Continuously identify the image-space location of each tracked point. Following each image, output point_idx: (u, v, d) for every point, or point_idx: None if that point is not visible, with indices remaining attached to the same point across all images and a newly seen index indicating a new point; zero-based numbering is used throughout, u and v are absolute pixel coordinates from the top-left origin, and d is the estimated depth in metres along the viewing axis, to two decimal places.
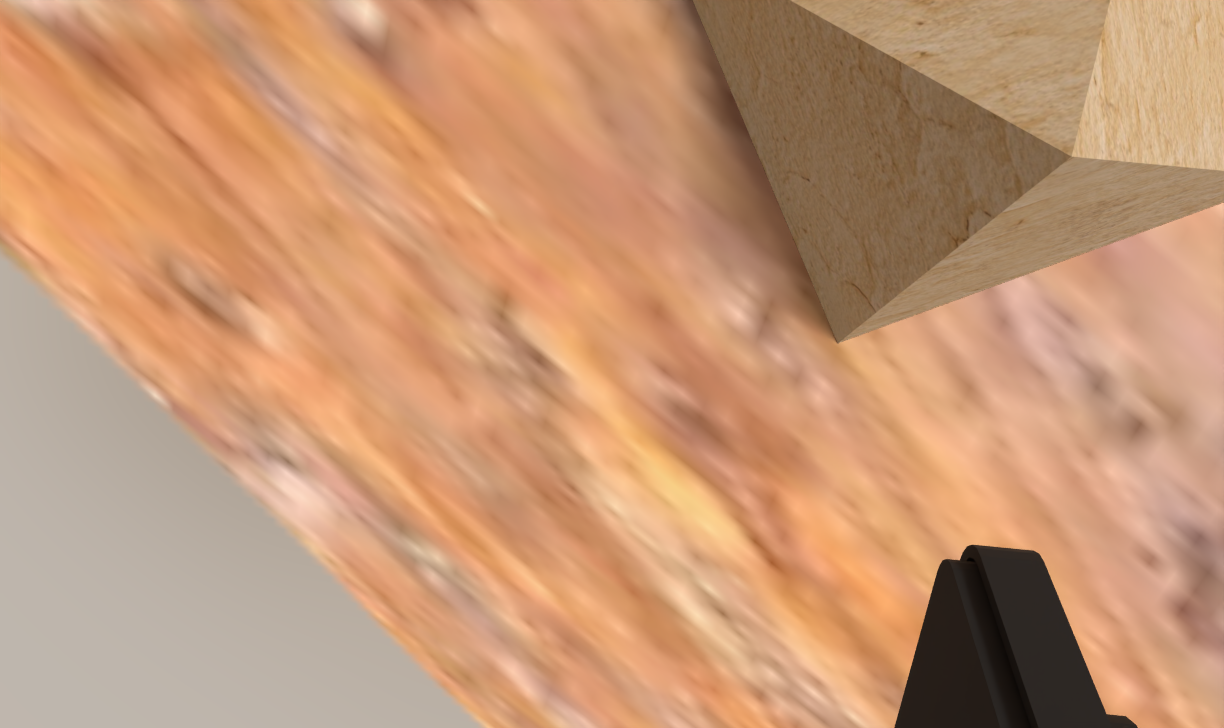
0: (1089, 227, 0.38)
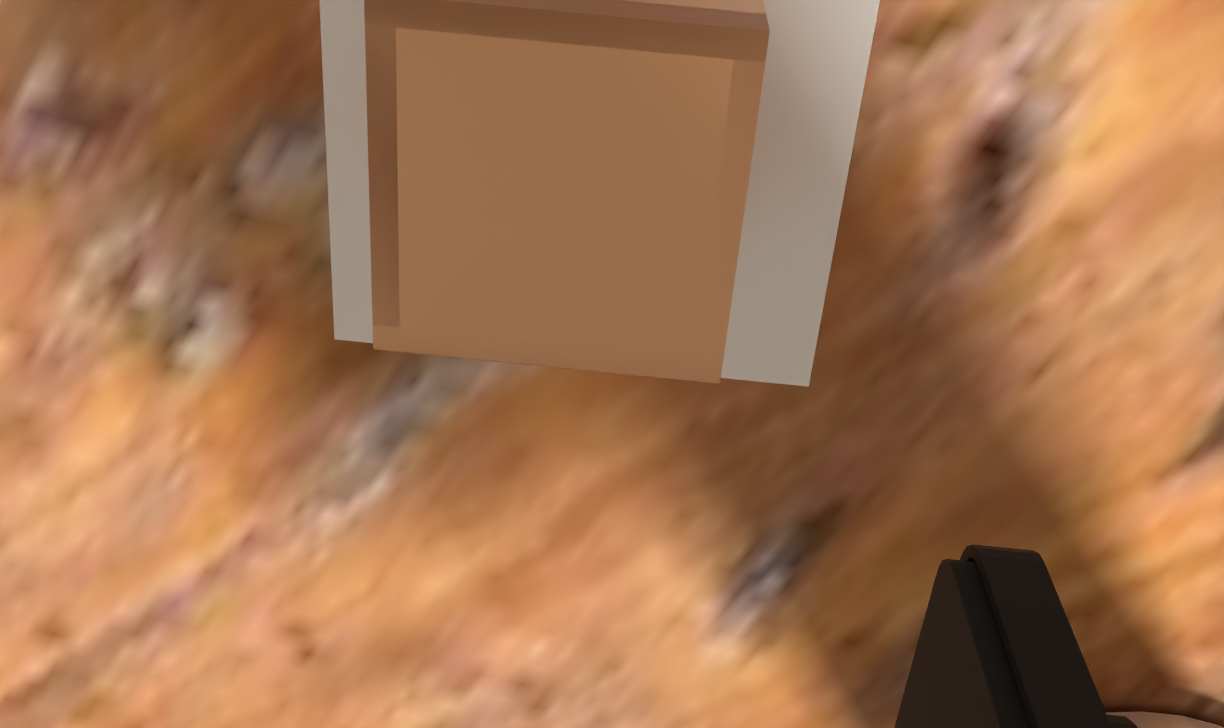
0: None
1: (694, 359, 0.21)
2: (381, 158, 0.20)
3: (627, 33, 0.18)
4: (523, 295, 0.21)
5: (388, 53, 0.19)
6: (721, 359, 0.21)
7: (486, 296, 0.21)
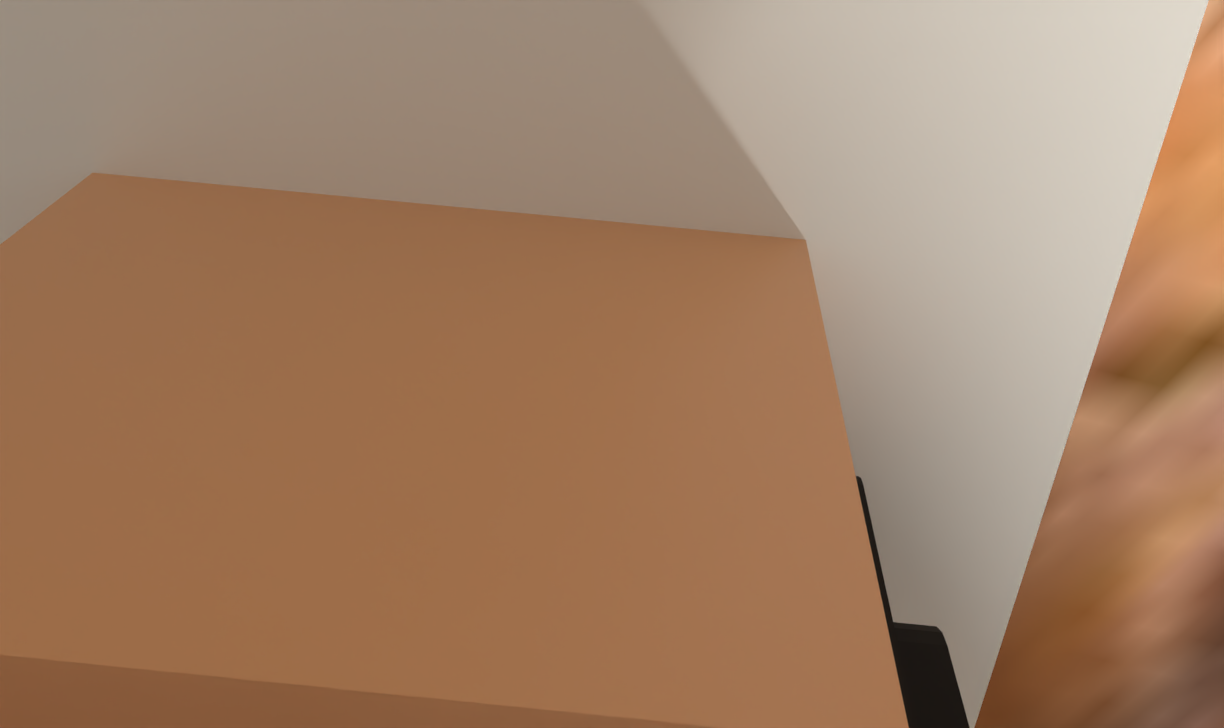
0: None
1: None
2: None
3: None
4: None
5: None
6: None
7: None
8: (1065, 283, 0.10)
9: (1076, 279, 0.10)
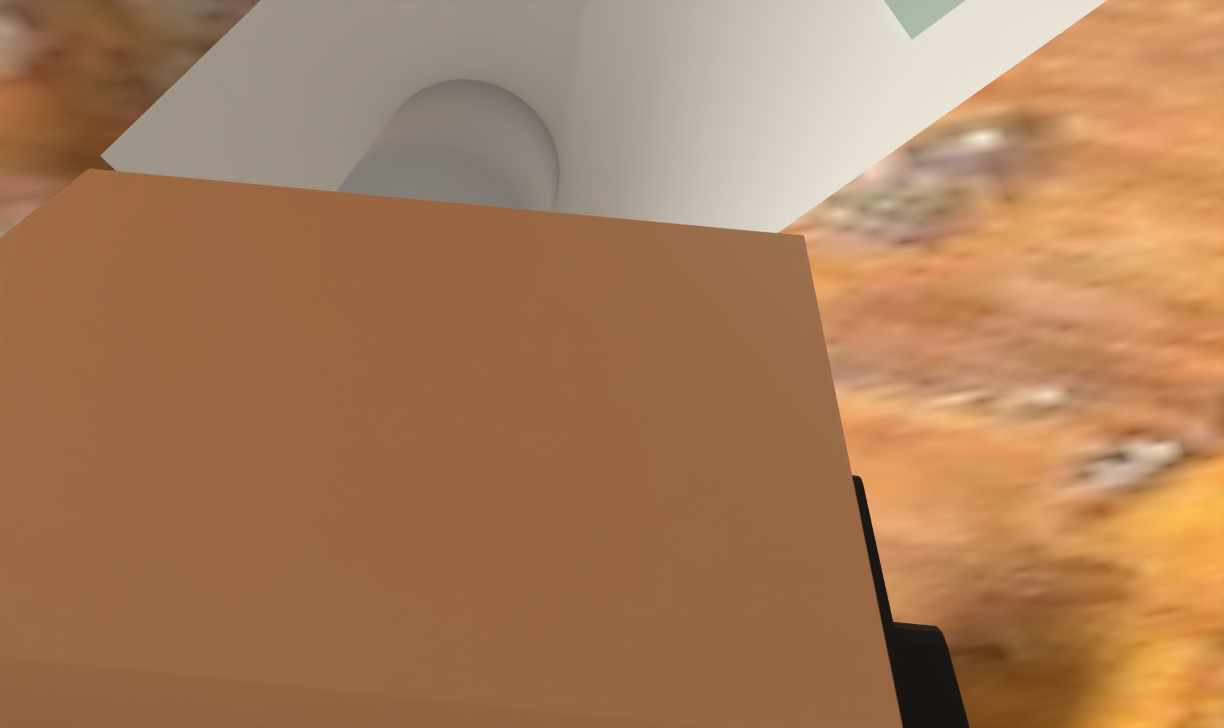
0: None
1: None
2: None
3: None
4: None
5: None
6: None
7: None
8: None
9: None
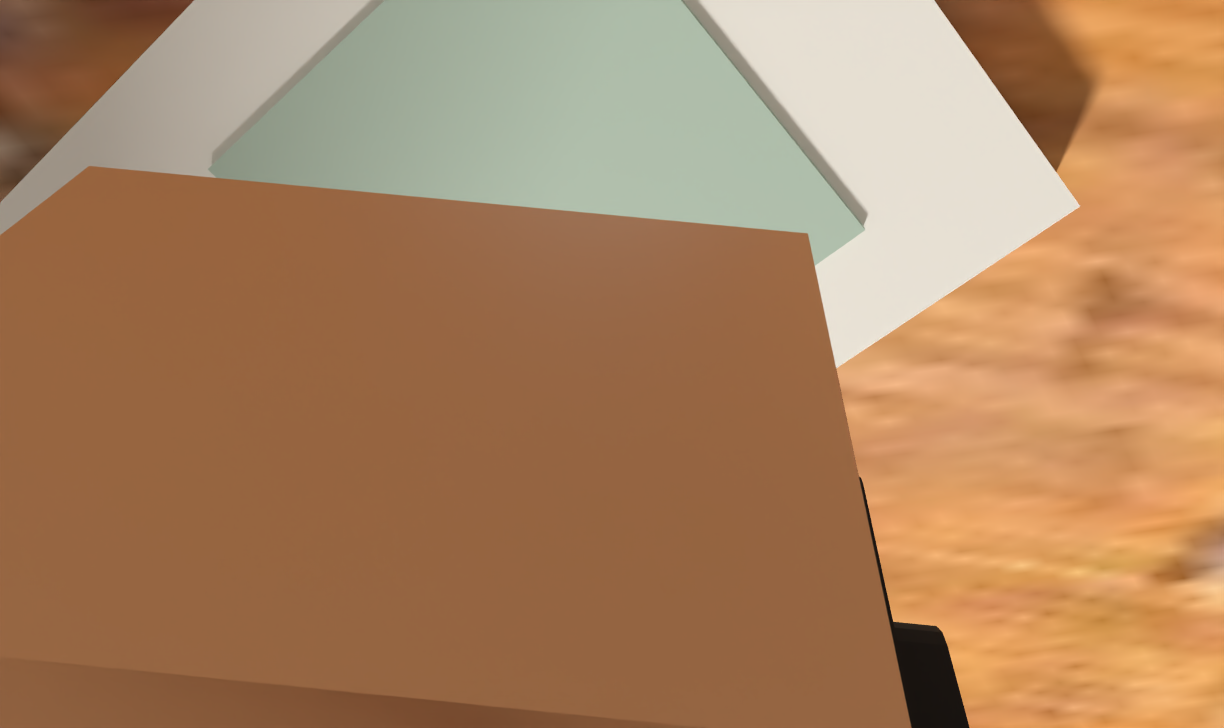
0: None
1: None
2: None
3: None
4: None
5: None
6: None
7: None
8: None
9: None
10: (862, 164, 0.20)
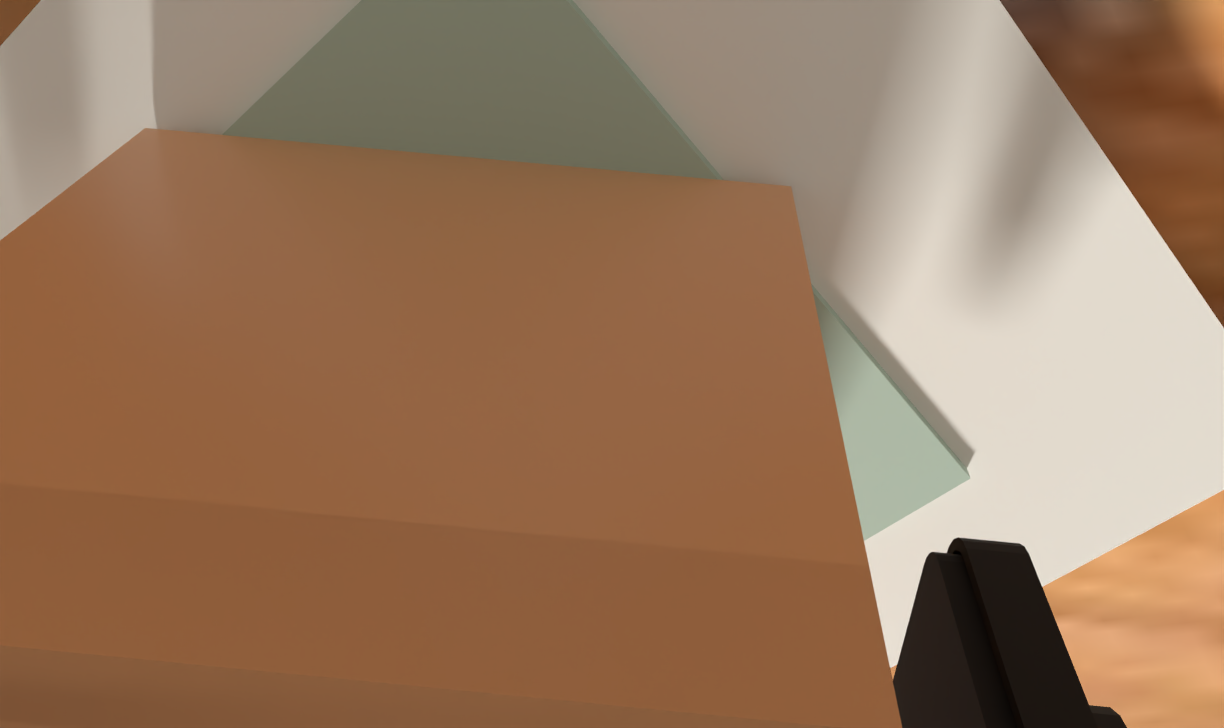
0: None
1: None
2: None
3: (425, 724, 0.06)
4: None
5: None
6: None
7: None
8: None
9: None
10: (969, 383, 0.13)
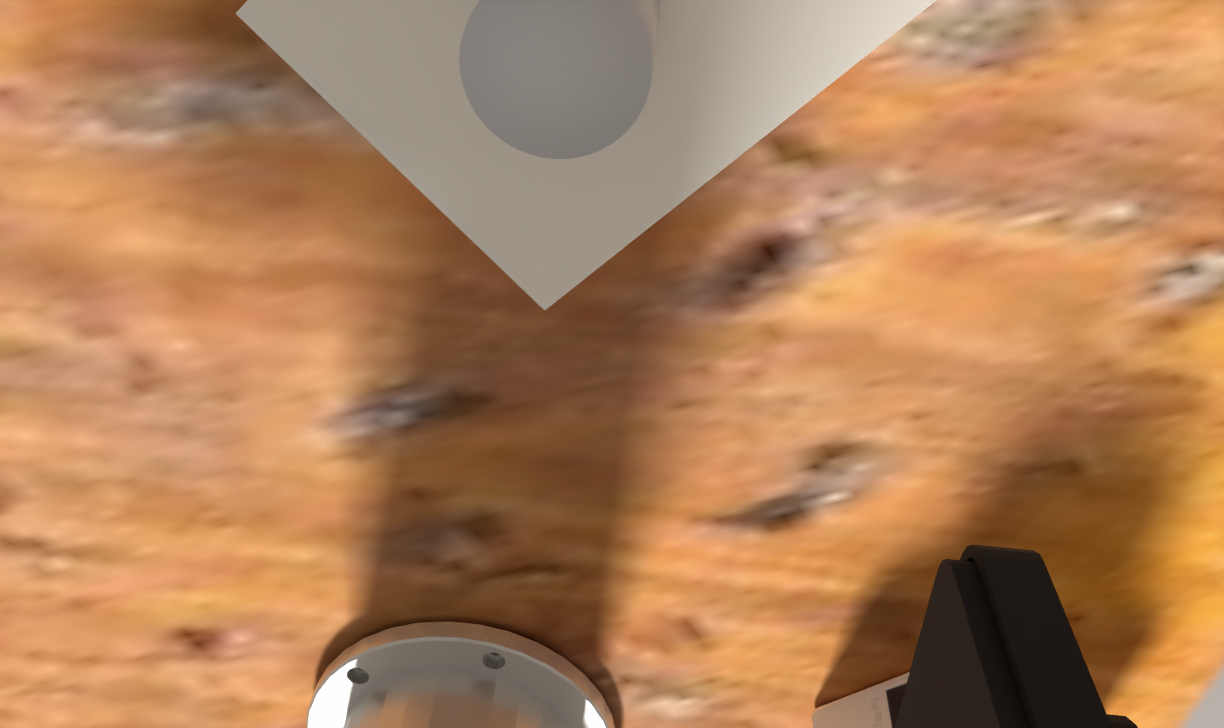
0: None
1: None
2: None
3: None
4: None
5: None
6: None
7: None
8: (797, 89, 0.32)
9: (801, 90, 0.32)
10: None
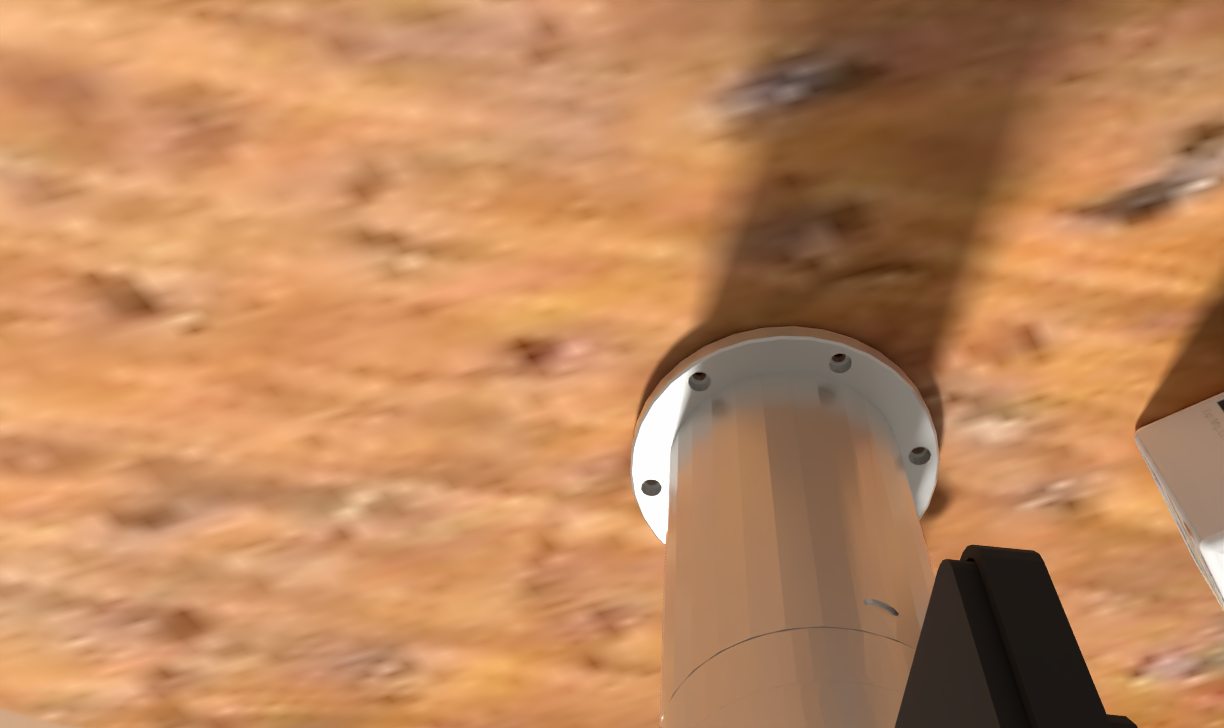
0: None
1: None
2: None
3: None
4: None
5: None
6: None
7: None
8: None
9: None
10: None
